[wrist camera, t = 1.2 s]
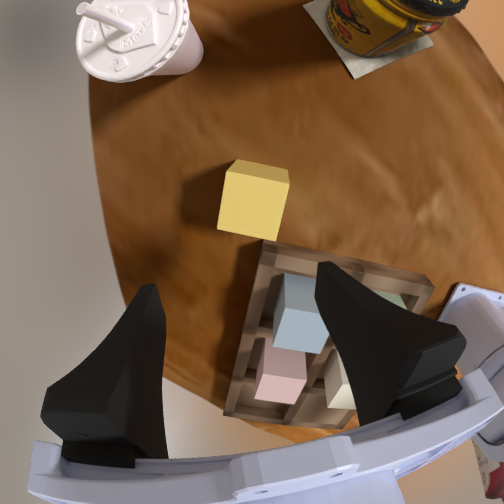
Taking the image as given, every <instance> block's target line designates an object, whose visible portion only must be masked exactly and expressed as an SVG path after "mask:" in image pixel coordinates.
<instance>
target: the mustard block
mask: <svg viewBox="0 0 504 504" xmlns="http://www.w3.org/2000/svg"><path fill="white" fill-rule="evenodd" d="M289 185H290V183H289V177H288V171H287V170H286V169H282V168H277V167H273V166H268V165H263V164H258V163H254V162H249V161H243V160H238V159H237V160H236V161H235V162H234V163H233V164H232V165H231V167H230V168H229V169H228V170H227V171H226V177H225V183H224V189H223V195H222V201H221V207H220V213H219V219H218V225H217V229H219V230H224V231H229V232H233V233H238V234H243V235H248V236H252V237H257V238H262V239H267V240H271V241H276V238H277V234H278V230H279V226H280V222H281V218H282V214H283V210H284V206H285V202H286V198H287V193H288V189H289Z"/></svg>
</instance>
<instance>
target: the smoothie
mask: <svg viewBox="0 0 504 504" xmlns="http://www.w3.org/2000/svg"><path fill="white" fill-rule="evenodd" d="M76 13H77V14H79V15H82V16H83V17H82V19H81V21H80V24H79V27H78V30H77V35H76V52H77V56H78V59H79V61H80V63H81V65H82V66H83V68H84V69H85V70H86V71H87V72H88V73H89V74H91V75H92V76H94V77H96V78H99V79H102V80H106V81H111V82H118V83H123V82H130V81H135V80H138V79H141V78H143V77H146V76H151V75H181V74H185V73H188V72H190V71H192V70H193V69H195V68H196V67H197V66H198V65H199V63H200V62H201V60H202V57H203V53H204V49H203V45H202V42H201V40H200V38H199V36H198V34H197V33H196V31H195V29H194V27H193V25H192V23H191V21H190V19H189V9H188V4H187V0H94V1H93V2H92V3H91V4H88V3H86V2H83V3H81V4H80V5H79V6H78V7H77V10H76Z"/></svg>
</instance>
